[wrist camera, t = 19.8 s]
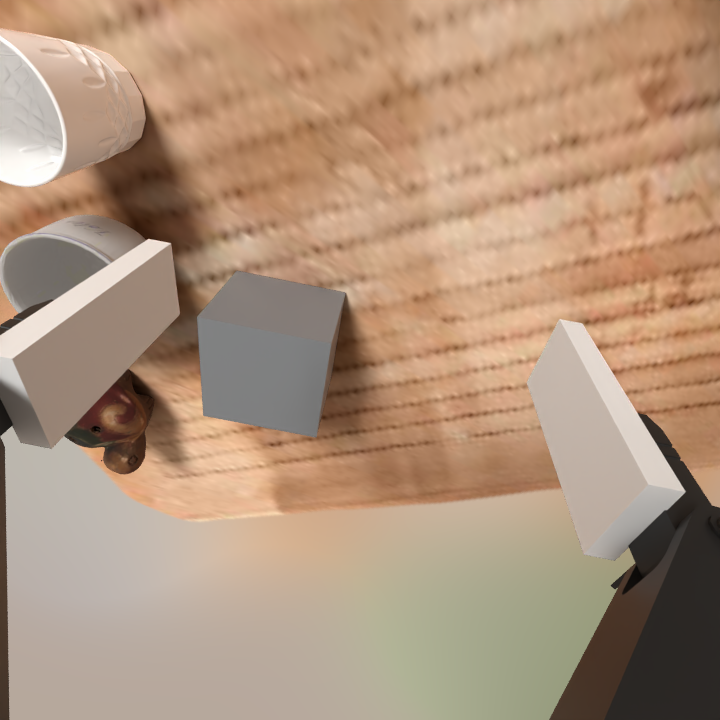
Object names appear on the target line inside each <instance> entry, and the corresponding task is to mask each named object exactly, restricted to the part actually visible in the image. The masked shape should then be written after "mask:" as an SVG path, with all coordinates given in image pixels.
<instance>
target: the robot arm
mask: <svg viewBox="0 0 720 720" xmlns="http://www.w3.org/2000/svg"><path fill="white" fill-rule="evenodd" d="M179 315H180V310H179V302H178V294H177V286H176V278H175V270H174V262H173V254H172V246H171V243H167V242H162V241H157V240H152V239H148V240H146V241H145V242H143V243H141V244H140V245H138V246H137V247H135V248H134V249H132V250H131V251H129V252H128V253H126V254H125V255H123V256H121V257H120V258H118V259H117V260H115V261H114V262H112V263H111V264H109V265H108V266H106V267H105V268H103V269H101V270H100V271H98V272H97V273H95V274H94V275H92V276H91V277H89V278H88V279H86V280H85V281H83V282H81V283H80V284H78V285H77V286H75V287H74V288H72V289H71V290H69V291H68V292H66V293H65V294H63V295H62V296H60V297H58V298H57V299H55V300H53V299H50V300H48V301H45V302H42V303H39V304H36V305H33V306H30V307H29V308H27V309H25V310H24V311H22V312H21V313H19V314H17V315H16V316H14V319H9V320H8V321H6V322H5V323H3V324H1V325H0V436H1V435H2V434H3V433H4V432H6V431H7V430H8V429H9V428H10V427H11V426H13V428H14V430H15V432H16V434H17V436H18V438H19V440H20V442H21V443H25V444H30V445H35V446H40V447H45V448H50V449H52V448H53V447H54V445H56V443H57V442H58V441H59V440H60V439H61V438H62V437H63V436H64V435H65V434H66V433H67V432H68V431H69V430H70V429H71V428H72V427H73V426H74V425H75V424H76V423H77V422H78V421H79V420H80V418H81V417H82V416H83V415H84V414H85V413H86V412H87V411H88V410H89V409H90V408H91V407H92V406H93V405H94V404H95V403H96V402H97V401H98V400H99V399H100V398H101V396H102V395H103V394H104V393H105V392H106V391H107V390H108V389H109V388H110V387H111V386H112V385H113V384H114V383H115V382H116V381H117V380H118V379H119V378H120V377H121V376H122V374H123V373H124V372H125V371H126V370H127V369H128V368H129V367H130V366H131V365H132V364H133V363H134V362H135V361H136V360H137V359H138V358H139V357H140V356H141V355H142V354H143V352H144V351H145V350H146V349H147V348H148V347H149V346H150V345H151V344H152V343H153V342H154V341H155V340H156V339H157V338H158V337H159V336H160V335H161V334H162V333H163V332H164V330H165V329H166V328H167V327H168V326H169V325H170V324H171V323H172V322H173V321H174V320H175V319H176V318H177V317H178V316H179ZM527 385H528V388H529V391H530V394H531V397H532V400H533V403H534V406H535V409H536V412H537V415H538V418H539V421H540V424H541V427H542V430H543V433H544V436H545V439H546V442H547V445H548V448H549V451H550V454H551V457H552V460H553V463H554V466H555V470H556V473H557V476H558V479H559V482H560V485H561V488H562V491H563V493H564V497H565V500H566V503H567V506H568V509H569V512H570V515H571V518H572V521H573V524H574V527H575V530H576V533H577V536H578V539H579V542H580V545H581V548H582V551H583V554H584V555H589V556H594V557H599V558H604V559H609V560H614V561H615V560H616V559H617V558H618V557H619V556H620V555H621V554H622V553H623V552H624V551H625V550H626V549H627V548H628V547H629V548H630V551H631V553H632V555H633V558H634V560H635V562H636V563H635V564H634V565H633V566H632V567H630V569H628V570H627V571H626V572H625V573H624V574H623V575H622V576H621V577H619V579H617V580H616V581H615V582H614V583H613V584H612V585H611V586H612V587H613V588H614V589H616V588H618V589H617V591H616V593H615V595H614V597H613V599H612V601H611V603H610V604H609V606H608V608H607V610H606V612H605V614H604V616H603V618H602V620H601V622H600V624H599V626H598V627H597V630H596V631H595V633H594V635H593V637H592V639H591V641H590V643H589V645H588V647H587V649H586V650H585V652H584V654H583V656H582V658H581V660H580V662H579V664H578V666H577V668H576V670H575V671H574V673H573V675H572V677H571V679H570V681H569V683H568V685H567V687H566V689H565V691H564V692H563V694H562V696H561V698H560V700H559V702H558V704H557V706H556V708H555V710H554V712H553V714H552V715H551V718H550V719H549V720H720V508H719V507H715V506H712V505H711V503H710V502H709V501H708V499H707V497H706V496H705V494H704V493H703V492H702V490H701V488H700V487H699V485H698V484H697V482H696V481H695V479H694V478H693V476H692V474H691V473H690V471H689V470H688V468H687V467H686V465H685V464H684V462H683V461H680V456H679V455H678V453H677V452H676V450H675V449H674V448H672V444H671V442H670V441H669V439H668V438H667V436H666V435H665V433H664V432H663V430H662V429H661V428H660V427H659V426H658V425H656V424H655V423H654V422H653V421H652V420H651V419H650V418H649V417H648V416H647V415H644V414H639V413H637V412H636V410H635V409H634V407H633V405H632V404H631V402H630V400H629V399H628V397H627V396H626V394H625V392H624V391H623V389H622V387H621V386H620V384H619V383H618V381H617V379H616V378H615V376H614V374H613V373H612V371H611V370H610V368H609V366H608V365H607V363H606V361H605V360H604V358H603V357H602V355H601V353H600V352H599V350H598V348H597V347H596V345H595V344H594V342H593V340H592V339H591V337H590V335H589V334H588V332H587V331H586V329H585V327H584V326H583V324H582V323H577V322H571V321H566V320H561V319H559V321H558V323H557V325H556V327H555V329H554V331H553V333H552V334H551V336H550V338H549V340H548V342H547V344H546V346H545V348H544V350H543V352H542V354H541V356H540V358H539V360H538V362H537V363H536V365H535V367H534V369H533V371H532V373H531V375H530V377H529V379H528V381H527ZM6 556H7V552H6V494H5V447H4V444H3V442H2V440H1V438H0V720H9V678H8V677H9V676H8V675H9V673H8V617H7V615H8V612H7V557H6Z"/></svg>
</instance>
